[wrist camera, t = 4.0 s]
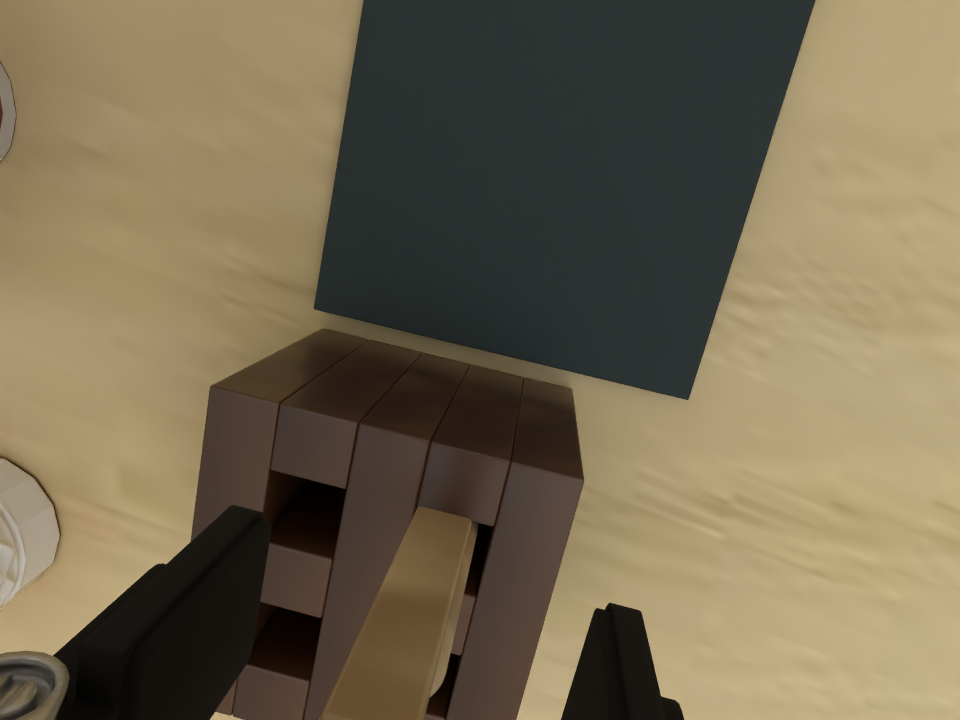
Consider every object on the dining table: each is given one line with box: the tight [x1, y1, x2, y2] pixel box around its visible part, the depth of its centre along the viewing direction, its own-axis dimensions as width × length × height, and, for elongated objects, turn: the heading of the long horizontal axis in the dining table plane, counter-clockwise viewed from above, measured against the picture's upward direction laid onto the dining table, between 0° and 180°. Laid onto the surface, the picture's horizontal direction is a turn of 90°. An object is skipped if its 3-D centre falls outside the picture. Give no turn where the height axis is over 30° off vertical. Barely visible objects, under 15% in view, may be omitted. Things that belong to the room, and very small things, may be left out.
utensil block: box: [191, 329, 584, 720], centre depth 23 cm, size 10×10×9 cm
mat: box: [314, 0, 815, 400], centre depth 22 cm, size 15×24×1 cm, turn 167°
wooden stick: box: [319, 506, 479, 720], centre depth 17 cm, size 1×5×20 cm, turn 167°
